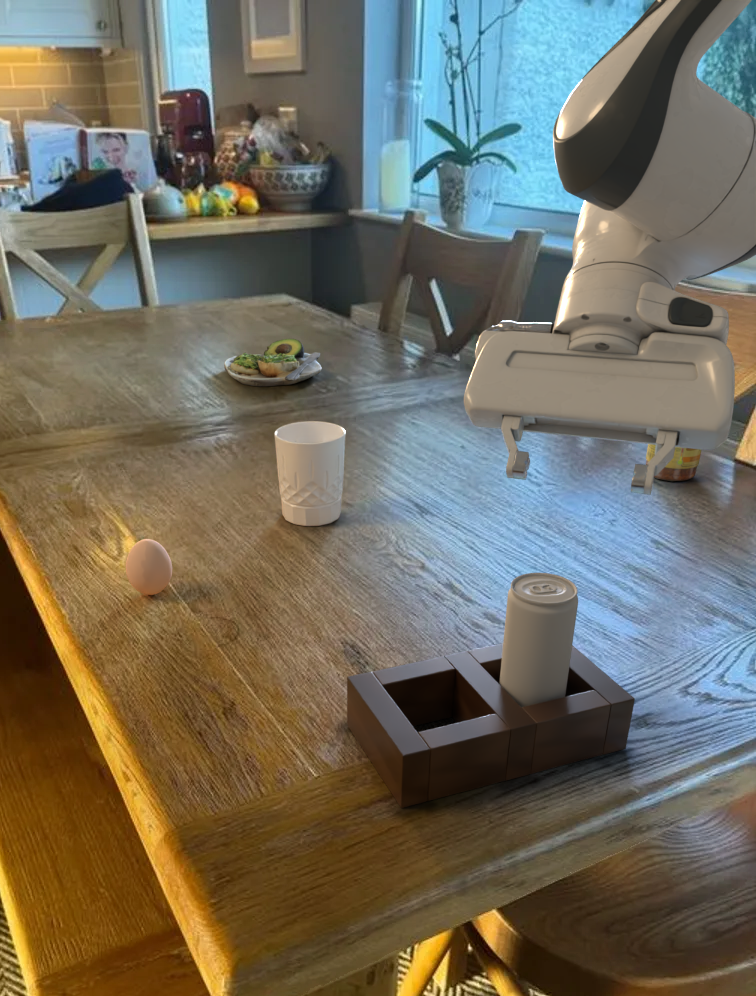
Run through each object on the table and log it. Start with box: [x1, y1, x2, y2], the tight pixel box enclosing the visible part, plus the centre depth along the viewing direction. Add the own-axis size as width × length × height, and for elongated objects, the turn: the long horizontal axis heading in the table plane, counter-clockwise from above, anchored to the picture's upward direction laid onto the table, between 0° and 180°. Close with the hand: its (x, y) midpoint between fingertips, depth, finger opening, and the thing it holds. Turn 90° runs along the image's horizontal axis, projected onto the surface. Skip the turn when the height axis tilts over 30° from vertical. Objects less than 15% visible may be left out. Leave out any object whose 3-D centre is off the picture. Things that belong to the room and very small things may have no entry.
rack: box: [346, 642, 636, 809], centre depth 67 cm, size 18×10×4 cm, turn 109°
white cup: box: [273, 420, 346, 527], centre depth 102 cm, size 8×8×10 cm
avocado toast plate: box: [223, 338, 323, 387], centre depth 158 cm, size 19×18×5 cm
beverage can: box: [499, 572, 579, 708], centre depth 66 cm, size 5×5×12 cm
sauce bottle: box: [645, 444, 702, 482], centre depth 109 cm, size 7×6×20 cm
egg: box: [125, 538, 173, 596], centre depth 88 cm, size 4×4×6 cm
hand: (576, 483), depth 70 cm, fingers open, 8 cm apart
